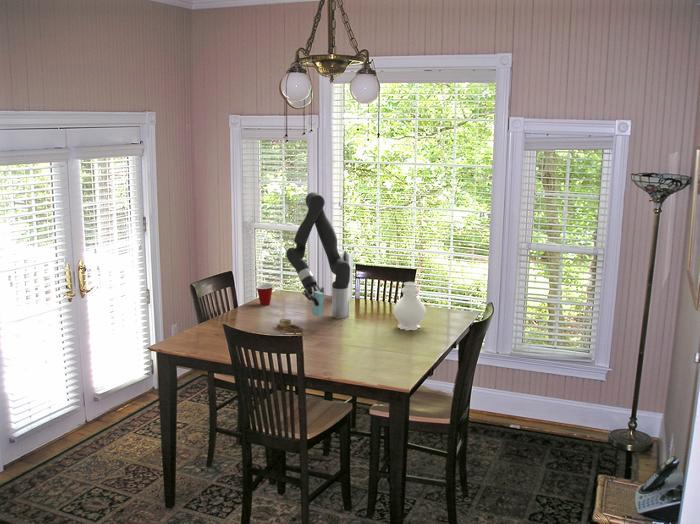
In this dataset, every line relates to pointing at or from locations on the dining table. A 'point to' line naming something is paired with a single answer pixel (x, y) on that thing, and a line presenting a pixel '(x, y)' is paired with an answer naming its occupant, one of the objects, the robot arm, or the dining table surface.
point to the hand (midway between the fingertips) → (320, 304)
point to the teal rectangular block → (320, 308)
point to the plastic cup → (264, 293)
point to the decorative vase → (409, 308)
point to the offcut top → (285, 321)
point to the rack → (292, 330)
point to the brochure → (349, 260)
